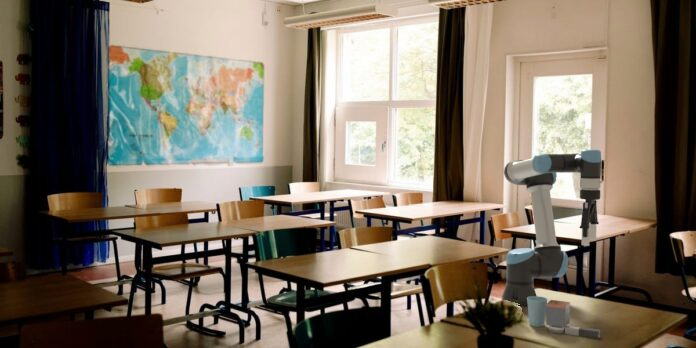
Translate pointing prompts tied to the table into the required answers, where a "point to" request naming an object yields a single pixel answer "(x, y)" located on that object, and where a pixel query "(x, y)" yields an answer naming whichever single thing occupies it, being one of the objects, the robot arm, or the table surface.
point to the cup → (536, 310)
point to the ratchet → (575, 331)
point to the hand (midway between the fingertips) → (588, 243)
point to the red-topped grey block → (558, 313)
